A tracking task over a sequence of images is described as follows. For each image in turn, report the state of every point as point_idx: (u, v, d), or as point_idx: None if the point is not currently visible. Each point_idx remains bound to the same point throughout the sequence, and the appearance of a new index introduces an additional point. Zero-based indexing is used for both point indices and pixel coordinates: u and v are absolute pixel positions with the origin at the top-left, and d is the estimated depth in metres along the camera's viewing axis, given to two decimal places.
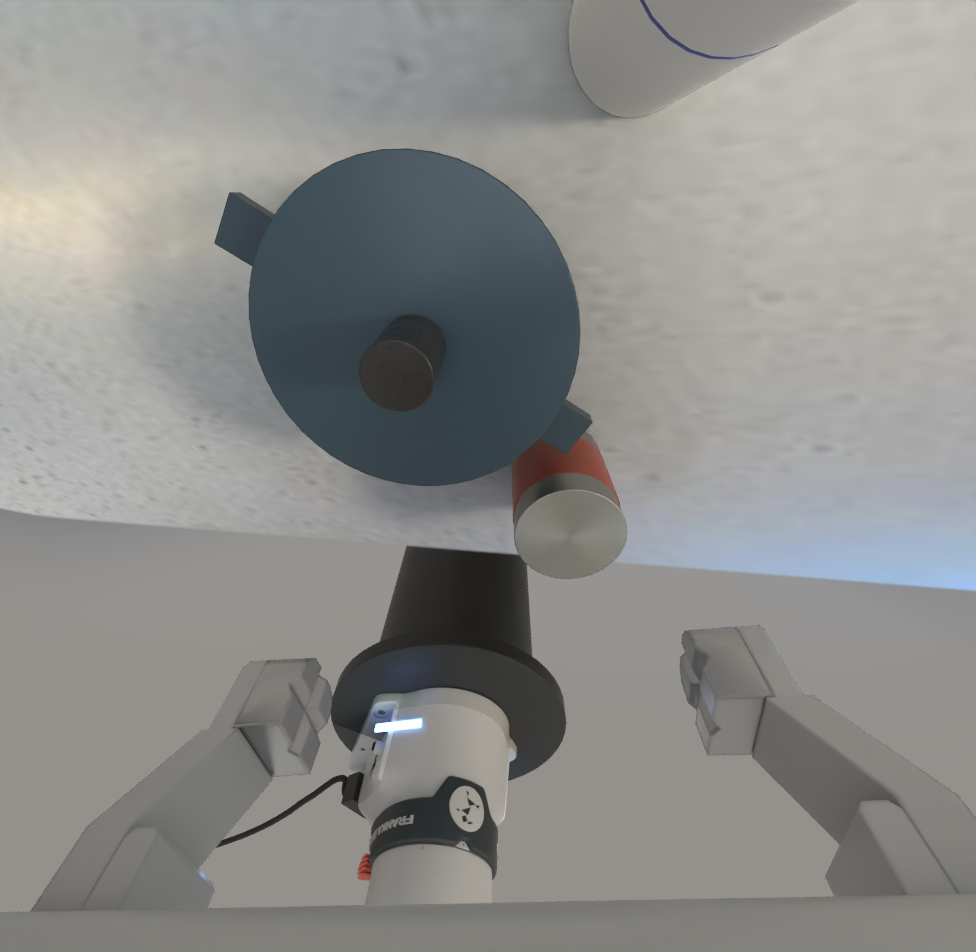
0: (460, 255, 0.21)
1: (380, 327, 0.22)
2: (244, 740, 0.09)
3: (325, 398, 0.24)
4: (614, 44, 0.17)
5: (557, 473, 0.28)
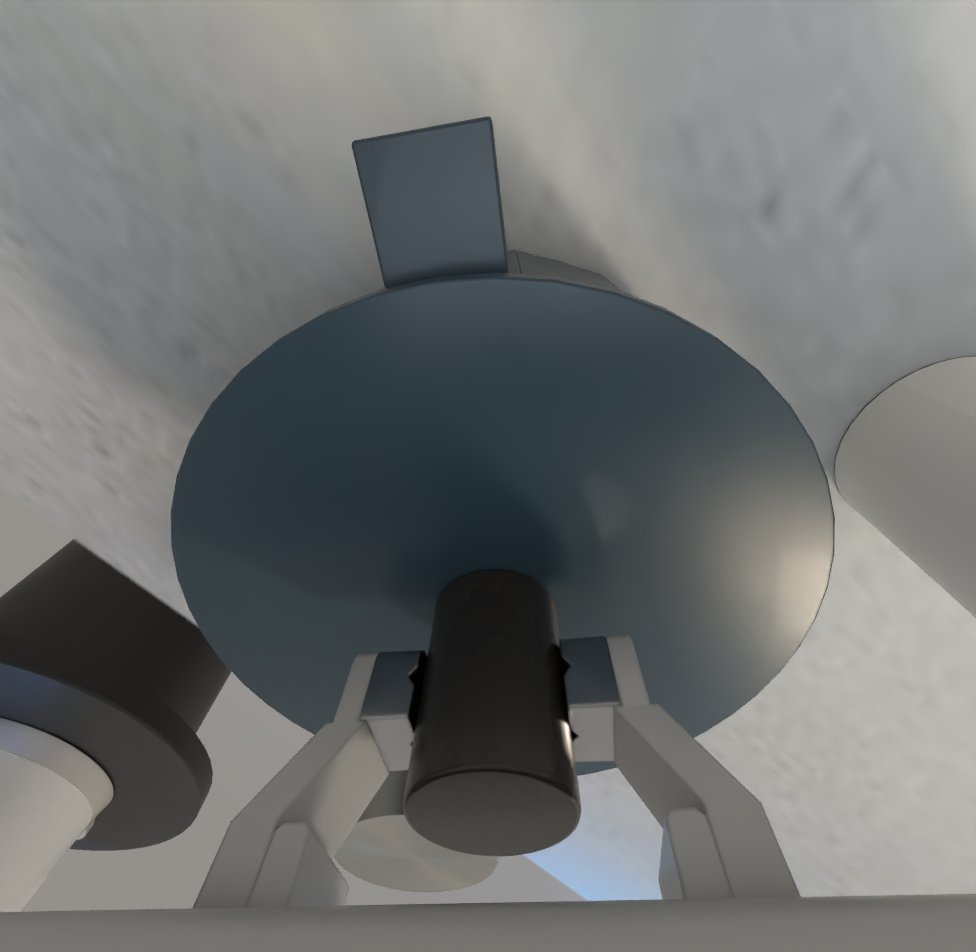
0: (685, 593, 0.11)
1: (482, 558, 0.11)
2: (369, 733, 0.09)
3: (275, 550, 0.11)
4: None
5: None
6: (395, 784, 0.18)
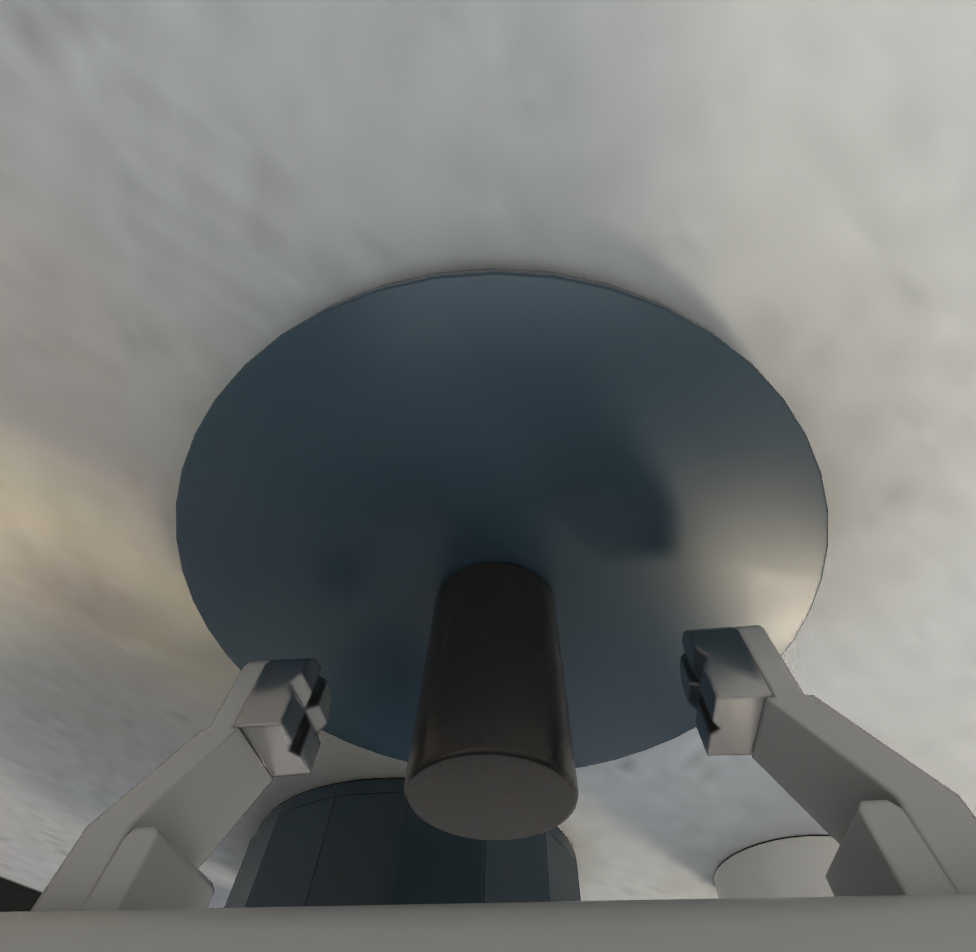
0: (682, 585, 0.11)
1: (482, 550, 0.11)
2: (244, 740, 0.09)
3: (278, 542, 0.11)
4: None
5: None
6: None
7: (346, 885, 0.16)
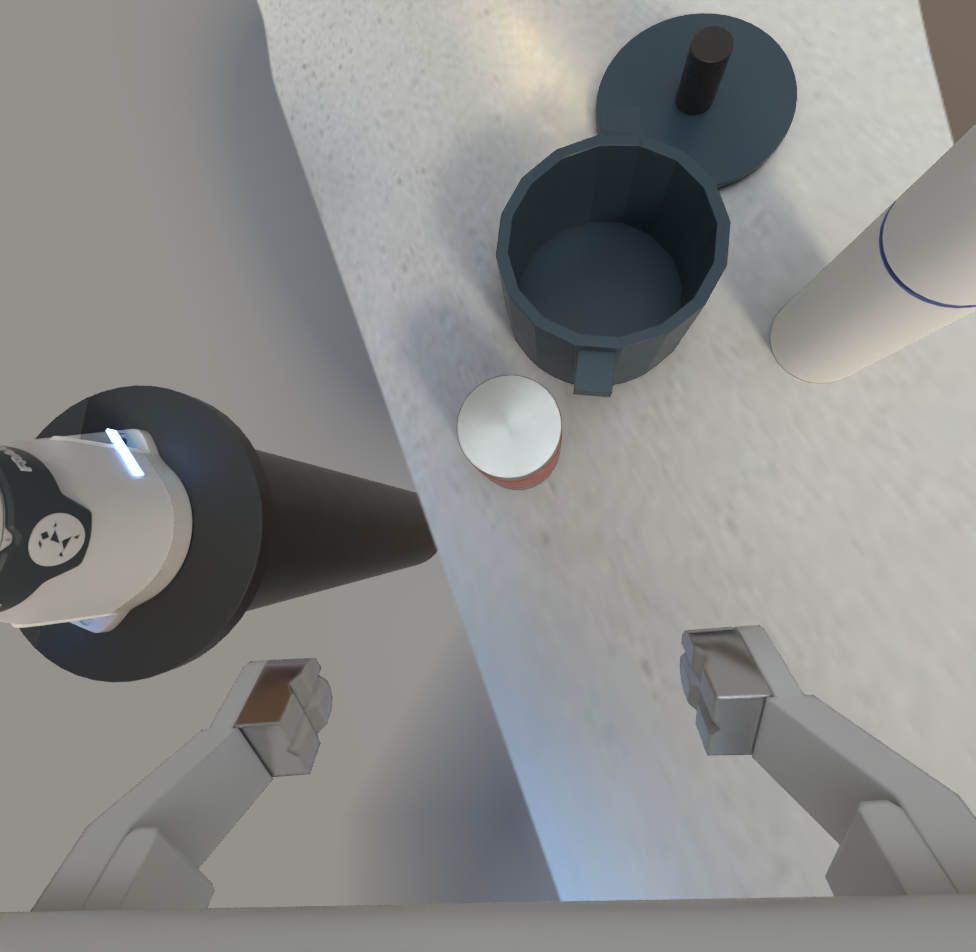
0: (753, 96, 0.38)
1: None
2: (244, 740, 0.09)
3: (636, 70, 0.40)
4: (836, 262, 0.29)
5: None
6: None
7: None
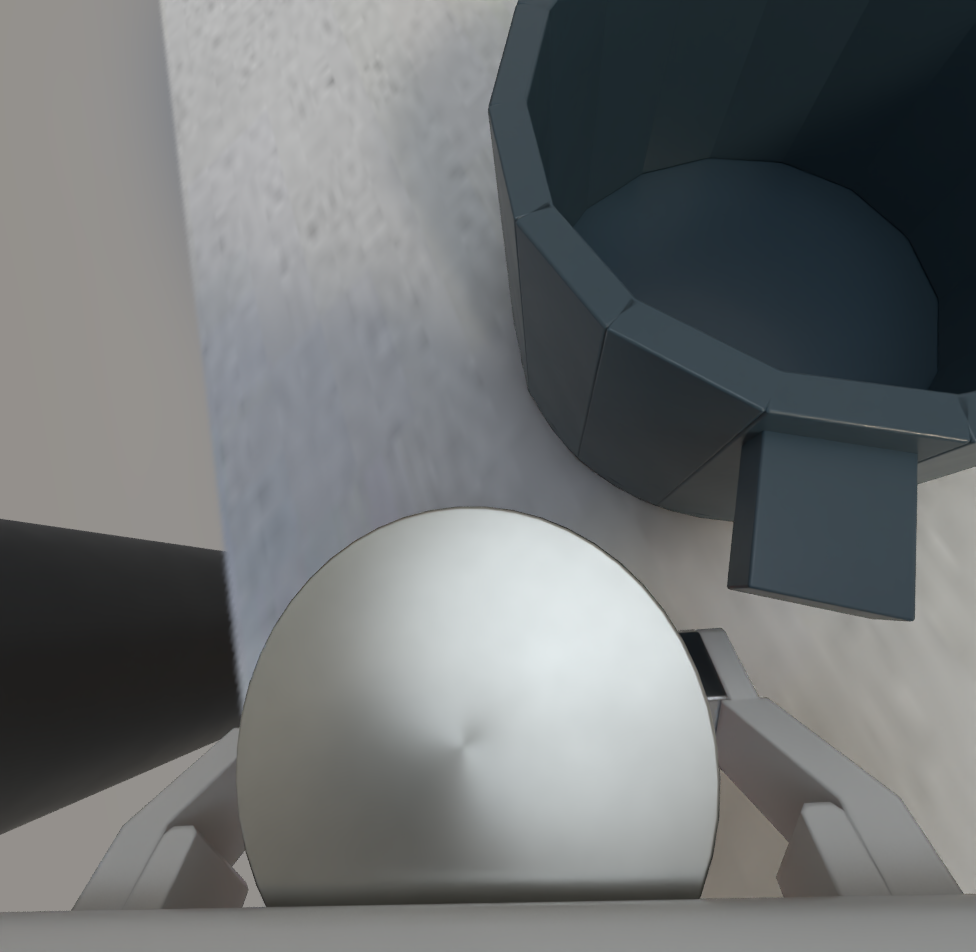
0: None
1: None
2: None
3: None
4: None
5: None
6: None
7: None
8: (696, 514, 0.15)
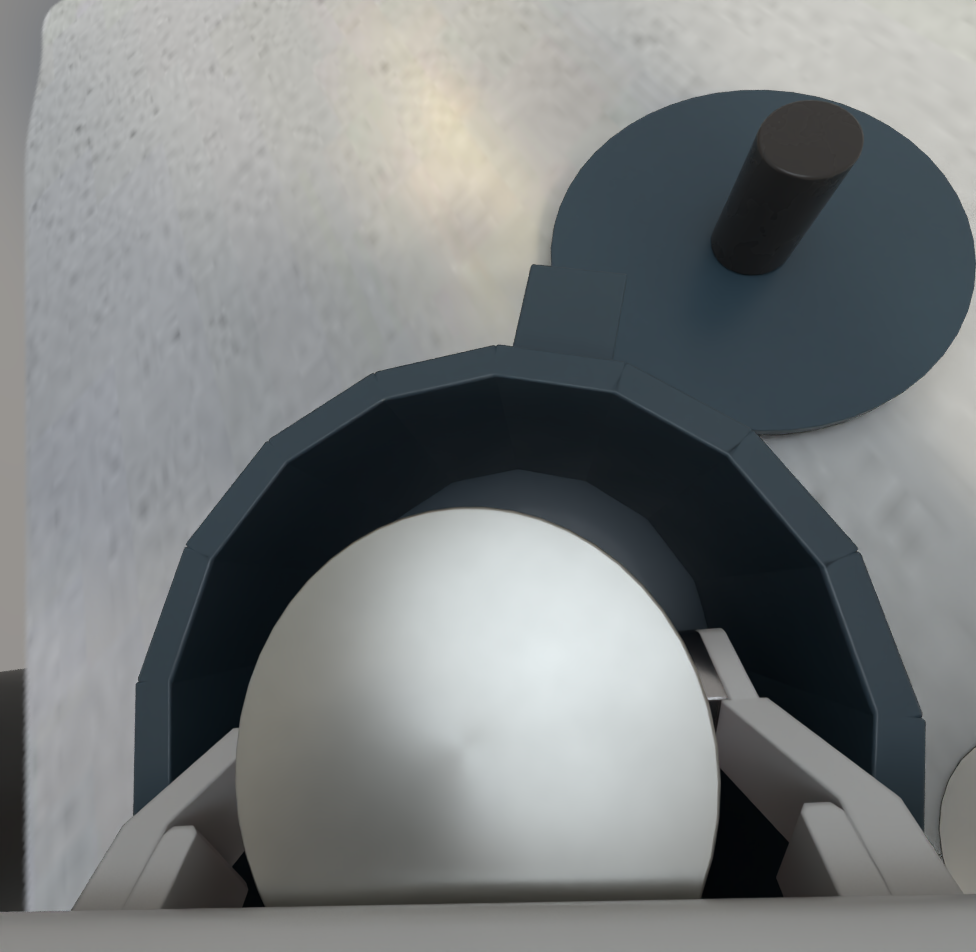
0: (879, 250, 0.18)
1: None
2: None
3: (635, 180, 0.20)
4: None
5: None
6: None
7: None
8: None
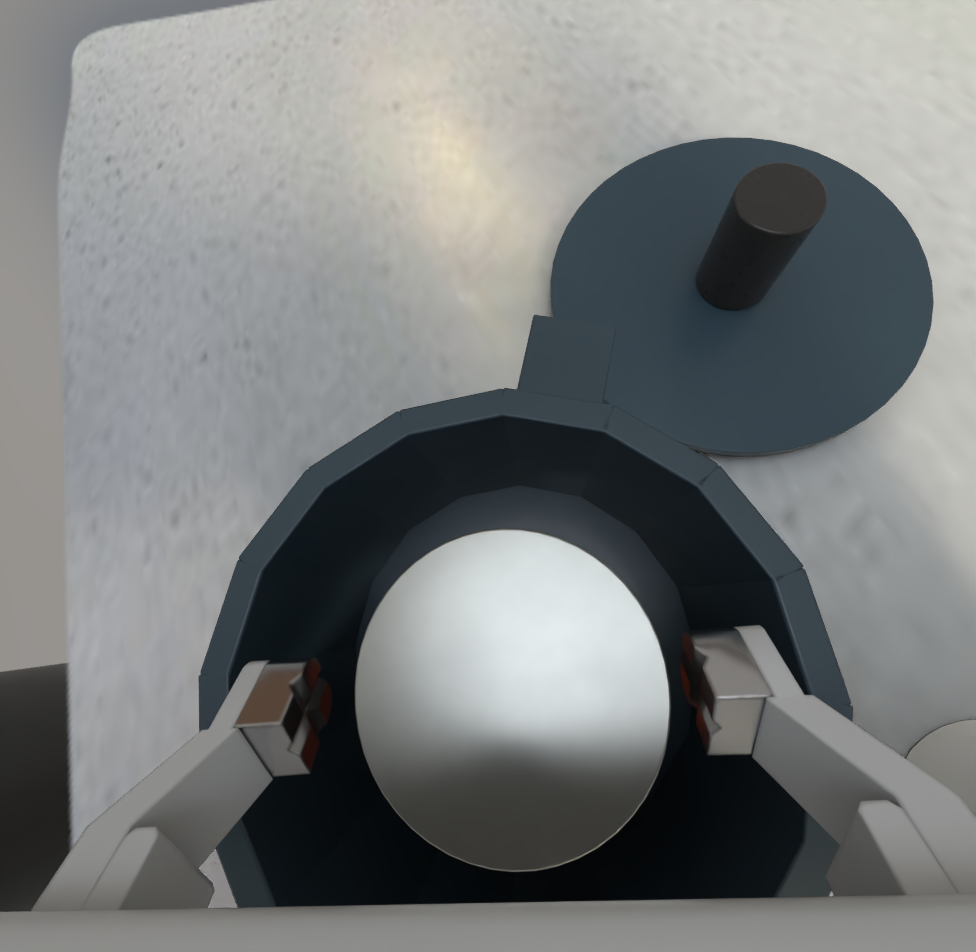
0: (847, 289, 0.20)
1: None
2: (244, 740, 0.09)
3: (628, 220, 0.22)
4: None
5: None
6: None
7: None
8: None
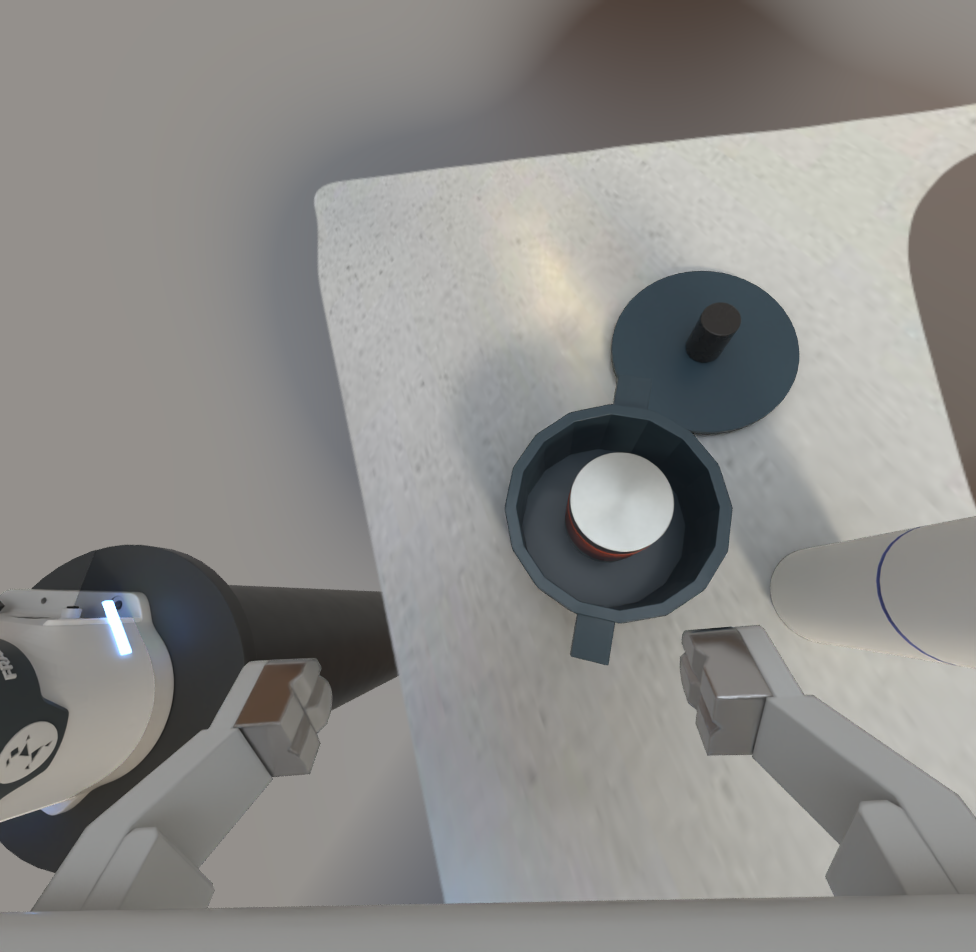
0: (759, 353, 0.41)
1: None
2: (244, 740, 0.09)
3: (651, 315, 0.43)
4: (835, 564, 0.29)
5: None
6: None
7: None
8: None
